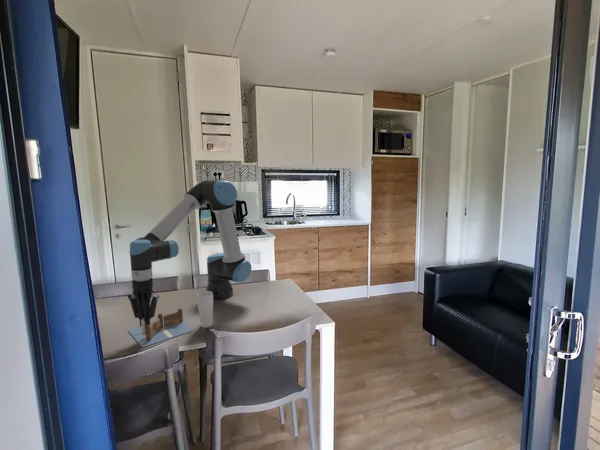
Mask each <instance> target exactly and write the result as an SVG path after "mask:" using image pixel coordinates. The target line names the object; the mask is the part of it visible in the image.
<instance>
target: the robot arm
mask: <svg viewBox="0 0 600 450" xmlns="http://www.w3.org/2000/svg"><path fill="white" fill-rule="evenodd" d="M237 198H238V191H237V188H236V187H235V185H234V184H233V183H232V182H230V181H228V180H222V179H220V180H219V179H218V180H217V179H215V180H209V179H207V180H203V181H200V182H198V183H196V184H195V185H194V186H193V187H191V188H190V189H189V190H188V191H186V193H185V194H184V195H183V199H182V200H181V201H179V202H178V203H177V205H175V206H174V207H173V208H172V209H171V211H169V212H168V213H167V214H166V215H165V216H164V217H163V218H162V219H161V220H160V221H159V222H158V223H157V224H156V225H155V226H154V227H153V228H152V229H151V230H150V231H149V232H148V233H147V234H146V235H144V236H142V237H138V238H136V239H135V240H133V241H131V242H130V243H129V257H130V268H131V269H130V270H131V279H132V280H131V287H132V293H130V294H128V295H127V298H128V300H129V302H130V306H131V308H132V313H133V315H134V318H136V319H139V327H142V335H144V336H145V335H146V331H145V326H146V325H150V324H151V319H152V318H154V317H155V316H156V315H155V314H156V309H157V303H158V300H159V298H160V296H159V294H157V295H156V294H155V293H154V289H153V286H154V284H153V283H154V282H153V281H154V280H153V265H152V264H153V263H155V262H158V261H164V260H169V259H173V258H176V257H178V254H179V252H180V251H179V250H180V249H179V248H180V247H179V244H178V243H177V242H176V241H175V240H173V239H172V240H167V239H168V237H170V236H171V235H172V234H173V233H174V232H175V231H176V230H177V229H178V227H180V226H181V225H182V224H183V222H185V220H187V219H188V218H189V216H191V215H192V214H193V212H194V211H195V210H199V209H201V207H202V206H204V205H207V204H209V207H210V210H211V212H213V213H214V216H215V220H216V225H217V228H218V232H219V238H220V242H221V245H222V250H223V253H222V252H220V253H216V254H215V253H214V254H210V255H208V256H207V258H206V266H207V267H206V269H207V284H206V285H207V286H206V288H205V291H211V292H213V300H223V299H227V298H230V297H232V296H233V294H234V288H233V286H232V283H231V282H234V283H244V282H245V281H247V279H248V278H249V276H250V275H251V274H252V273H251V272H252V263H251V262H250V261H248V260H246V256H245V253H243V252H242V251H241V246H240V241H239V235H238V230H237V227H236V223H235V217H234V211H233V209H234V207H235V203H236V201H237Z"/></svg>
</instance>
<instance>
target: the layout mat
mask: <svg viewBox="0 0 600 450" xmlns="http://www.w3.org/2000/svg"><path fill="white" fill-rule="evenodd" d="M151 324H152V323H150V325H151ZM127 331H128V332H129V333H130V335H131V336H132V338H133V339H134V340H135V342H137V344H138V345H139V346H140V347H141V349H143V348H146V347H149V346H152V345H155V344H159V343H161V342H164V341H167V339H168V340H170V339H169V338H171V339H173V338H172V337H174V338H177V337H179V336H182V335H185V334H189V333H193V332H194V329H192V327H191V326H189V325H188V324H187V323H186V322H184V321H183V322H179V323H176V324H173V325H170V326H166V327H164V319H163V328H161V329H160V330H159V331H158V332H157V333H156V334H155V335H154V336H153V337H152V338H151V340H150V341H146V335H145V336H144V335H142V327H140V326H139V327H136V328H135V327H134V328H131V329H128V330H127Z"/></svg>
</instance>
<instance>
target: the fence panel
mask: <svg viewBox="0 0 600 450" xmlns="http://www.w3.org/2000/svg"><path fill="white" fill-rule="evenodd" d="M163 316H164V314H163V313H158V314H157V318H156V319H155V320H154V321H153V322H152V323H150V324H151V325H146V326H145V331H146V341H150V340H151V338H152V337H153V336H154V335H155V334H156V333H157V332H158V331H159V330H160V329H161V328H163V320H164V319H163Z"/></svg>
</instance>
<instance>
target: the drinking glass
mask: <svg viewBox="0 0 600 450" xmlns="http://www.w3.org/2000/svg"><path fill="white" fill-rule="evenodd" d="M196 296H197V297H196V301H197V309H198V315H199V316H198V317H199V324H200V327H201V328H203V329H204V328H205V329H207V328H210V327H212V326H213V323H214V322H213V321H214V319H213V317H214V299H213V292H211V291H206V290H203V291H200V292H198V293H197V294H196Z"/></svg>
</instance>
